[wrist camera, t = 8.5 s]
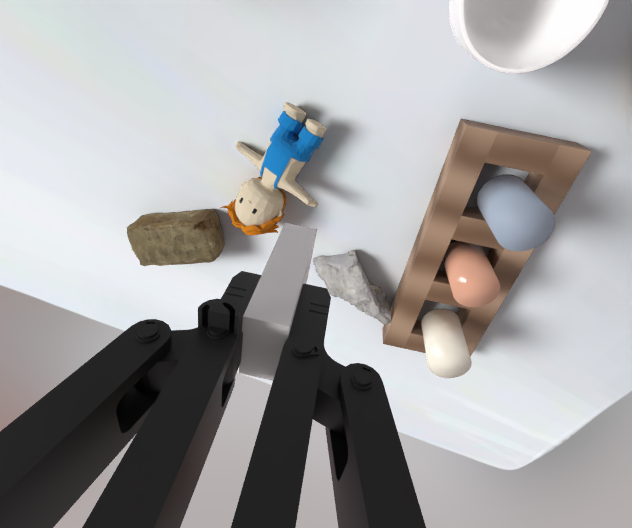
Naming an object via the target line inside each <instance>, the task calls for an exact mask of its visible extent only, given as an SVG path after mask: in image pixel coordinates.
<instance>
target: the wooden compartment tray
mask: <svg viewBox="0 0 632 528" xmlns="http://www.w3.org/2000/svg"><path fill="white" fill-rule="evenodd" d="M591 152H592V151H590V150H588V149H587V148H585V147H583V146H582V145H580V144H578V143H575V142H570V141H566V140H561V139H556V138H551V137H546V136H541V135H537V134H532V133H527V132H522V131H517V130H512V129H508V128H503V127H498V126H493V125H488V124H483V123H478V122H474V121H469V120H464V119H461V120H460V122H459V125H458V128H457V130H456V133H455V136H454V138H453V141H452V144H451V147H450V149H449V152H448V155H447V157H446V160H445V163H444V165H443V168H442V171H441V173H440V176H439V179H438V182H437V184H436V187H435V190H434V192H433V195H432V198H431V200H430V203H429V206H428V208H427V211H426V214H425V217H424V219H423V222H422V225H421V227H420V230H419V233H418V235H417V238H416V241H415V243H414V246H413V249H412V251H411V254H410V257H409V260H408V262H407V265H406V268H405V270H404V273H403V276H402V278H401V281H400V284H399V286H398V289H397V292H396V295H395V297H394V300H393V303H392V305H391V308H390V312H391V322H390V323H388V324H384V327H383V344H387V345H391V346H396V347H400V348H405V349H409V350H414V351H419V352H423V353H426V351H425V344H424V338H423V332H422V325H421V321H418V320H417V317H418V315H419V313H420V310H421V308H422V306H423V303H424V301H425V300H429V301H434V302H438V303H443V304H448V305H452V306H457V307H460V309H459V311H458V313H457V316H458V317H459V320H460V323H461V327H462V330H463V334H464V337H465V341H466V344H467V348H468V351H469V355H470V356H471V355H472V353H473V351H474V349H475V348H476V346H477V344H478V343H479V341H480V339H481V338H482V336H483V334H484V333H485V331H486V329H487V327H488V326H489V324H490V322H491V321H492V319H493V317H494V316H495V314H496V312H497V311H498V309H499V307H500V305H501V304H502V302H503V300H504V299H505V297H506V295H507V294H508V292H509V290H510V289H511V287H512V285H513V283H514V282H515V280H516V278H517V277H518V275H519V273H520V272H521V270H522V268H523V267H524V265H525V263H526V261H527V260H528V258H529V256H530V255H531V253H532V251H533V250H534V248H533V249H531V250H527V251H511V250H508V249H505V248H504V247H502V246H501V245H500V244H499V243H498V241H497V240H496V238H495V236H494V234H493V233H492V231H491V229H490V227H489V226H488V224H487V222H486V220H485V219H484V217H483V215H482V213H481V211H480V210H479V209H475V208H470V207H466V204H467V202H468V200H469V198H470V195H471V193H472V191H473V188H474V186H475V184H476V181H477V179H478V177H479V174H480V172H481V170H482V168H483V165H484V163H490V164H494V165H499V166H504V167H509V168H514V169H518V170H523V171H528V172H530V173H529V175H528V177H527V179H526V181H525V184H526V185H527V186H528V187H529V188H530V189H531V190H532V191H533V192H534V193H535V194H536V195H537V196H538V197H539V198H540V199H541V201H542V202H543V203H544V204H545V205H546V206H547V207H548V208H549V209H550V210H551V211H552V213H553V215H554V214H555V212H556V211H557V209H558V207H559V206H560V204H561V202H562V201H563V199H564V197H565V196H566V194H567V192H568V190H569V189H570V187H571V185H572V184H573V182H574V180H575V179H576V177H577V175H578V174H579V172H580V170H581V168H582V167H583V165H584V163H585V162H586V160H587V158H588V157H589V155H590V153H591ZM451 239H452V240H457V241H462V242H466V243H471V244H476V245H481V246H485V247H490V248H491V249H490V251H489V253H488V255H487V258H488V260H489V262H490V264H491V266H492V268H493V270H494V272H495V274H496V276H497V278H498V281H499V283H500V292H499V294H498V296H497V297H496V298H495V299H494V300H493V301H492V302H491V303H489V304H487V305H484V306H481V307H466V306H463V305H461V304H459V303H458V302H457V301H456V300H455V299H454V297H453V293H452V290H451V286H450V283H449V280H448V276H447V273H446V271H444V270H439V267H440V264H441V262H442V260H443V257H444V255H445V253H446V250H447V248H448V246H449V244H450V241H451Z"/></svg>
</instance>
